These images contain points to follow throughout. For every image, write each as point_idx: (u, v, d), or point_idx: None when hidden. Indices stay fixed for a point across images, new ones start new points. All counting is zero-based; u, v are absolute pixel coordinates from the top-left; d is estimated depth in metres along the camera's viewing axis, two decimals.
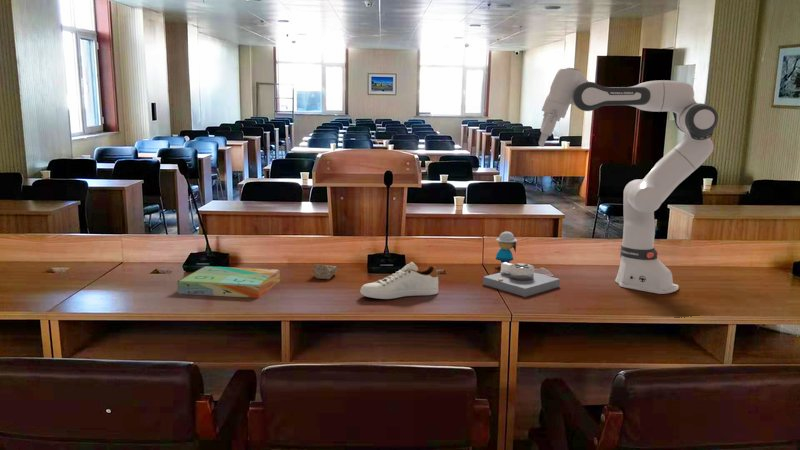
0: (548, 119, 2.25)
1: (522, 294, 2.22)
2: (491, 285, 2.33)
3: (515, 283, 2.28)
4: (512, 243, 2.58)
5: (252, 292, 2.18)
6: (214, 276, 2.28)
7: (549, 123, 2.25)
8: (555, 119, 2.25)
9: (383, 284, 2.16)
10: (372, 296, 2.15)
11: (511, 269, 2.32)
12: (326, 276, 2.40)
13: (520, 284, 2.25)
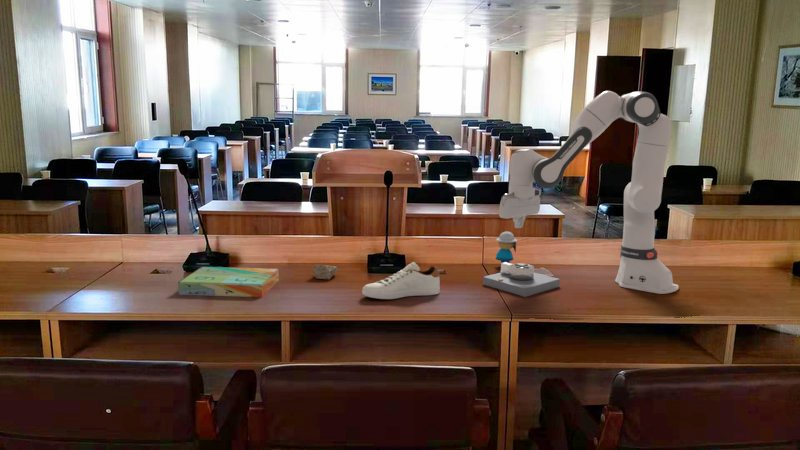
0: (500, 203, 2.33)
1: (522, 294, 2.22)
2: (491, 285, 2.33)
3: (515, 283, 2.28)
4: (512, 243, 2.58)
5: (255, 292, 2.19)
6: (214, 276, 2.27)
7: (502, 207, 2.33)
8: (506, 202, 2.32)
9: (385, 284, 2.16)
10: (374, 296, 2.15)
11: (511, 269, 2.32)
12: (326, 276, 2.40)
13: (520, 284, 2.25)
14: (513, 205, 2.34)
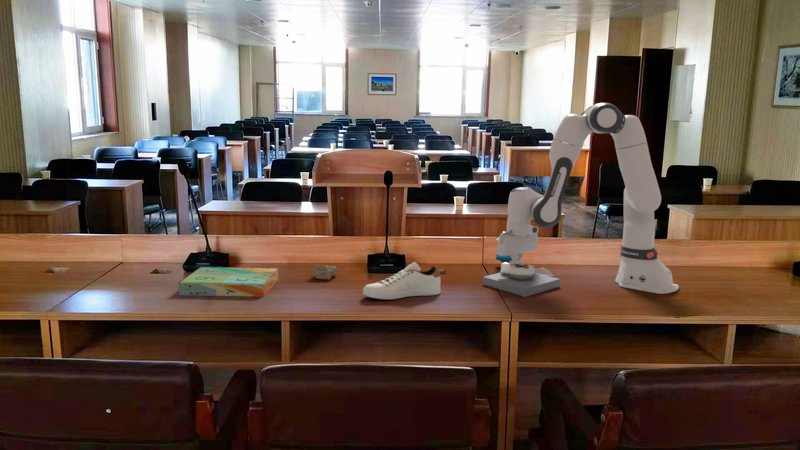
0: (498, 241, 2.36)
1: (522, 294, 2.22)
2: (491, 285, 2.33)
3: (515, 283, 2.28)
4: None
5: (256, 291, 2.19)
6: (215, 277, 2.27)
7: (500, 245, 2.35)
8: (504, 240, 2.34)
9: (386, 284, 2.16)
10: (375, 296, 2.14)
11: (511, 269, 2.32)
12: (326, 276, 2.40)
13: (520, 284, 2.25)
14: (510, 243, 2.37)
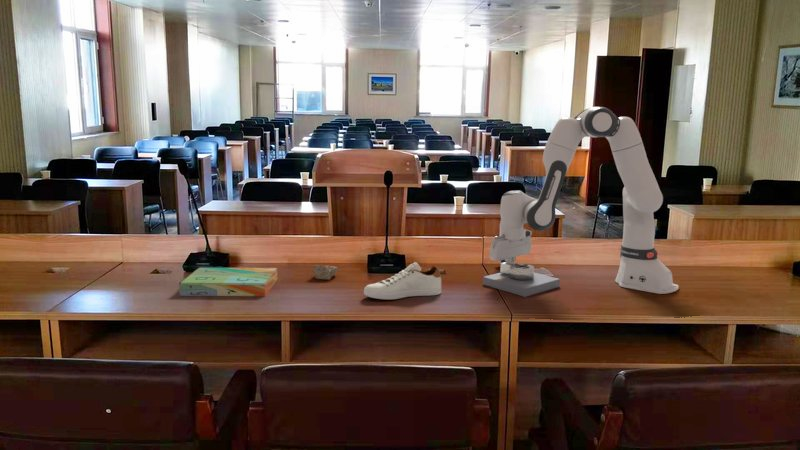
0: (491, 246, 2.34)
1: (522, 294, 2.22)
2: (491, 285, 2.33)
3: (515, 283, 2.28)
4: None
5: (258, 291, 2.20)
6: (215, 277, 2.27)
7: (492, 250, 2.33)
8: (496, 245, 2.32)
9: (387, 285, 2.16)
10: (376, 297, 2.14)
11: (511, 269, 2.32)
12: (326, 276, 2.40)
13: (520, 284, 2.25)
14: (503, 248, 2.34)
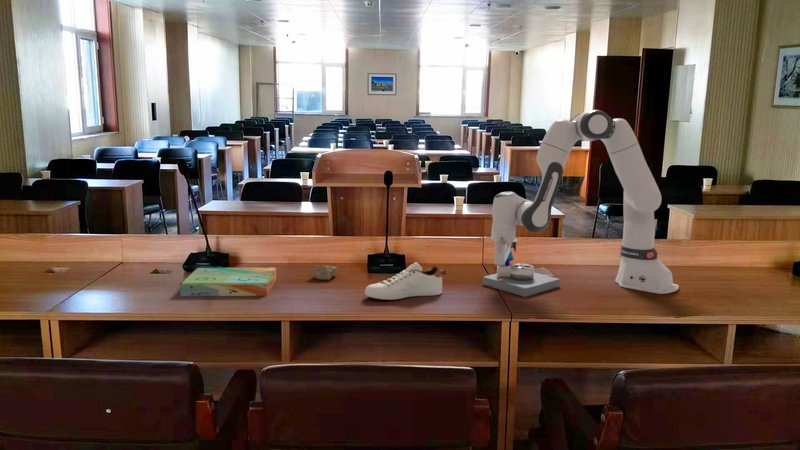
0: (496, 250, 2.27)
1: (522, 294, 2.22)
2: (491, 285, 2.33)
3: (515, 283, 2.28)
4: (512, 243, 2.58)
5: (259, 291, 2.20)
6: (215, 277, 2.27)
7: (498, 254, 2.26)
8: (503, 248, 2.26)
9: (388, 285, 2.15)
10: (377, 297, 2.14)
11: (519, 271, 2.30)
12: (326, 277, 2.39)
13: (520, 284, 2.25)
14: (505, 251, 2.30)
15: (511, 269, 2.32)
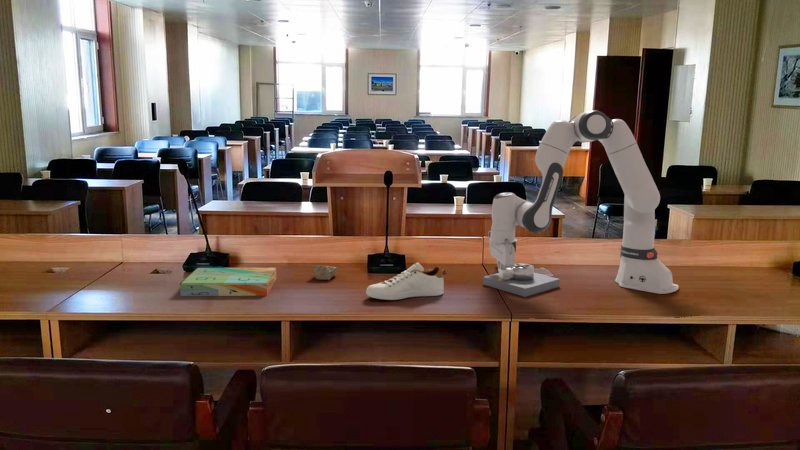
0: (507, 252, 2.24)
1: (522, 294, 2.22)
2: (491, 285, 2.33)
3: (515, 283, 2.28)
4: (512, 243, 2.58)
5: (259, 290, 2.20)
6: (215, 277, 2.27)
7: (510, 256, 2.24)
8: (513, 250, 2.25)
9: (389, 285, 2.15)
10: (378, 297, 2.14)
11: (525, 271, 2.29)
12: (326, 277, 2.39)
13: (520, 284, 2.25)
14: None
15: (515, 270, 2.30)
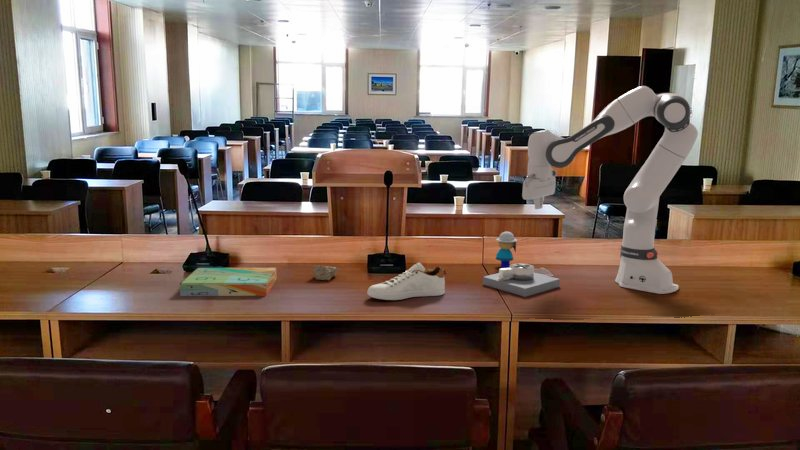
0: (524, 185, 2.35)
1: (522, 294, 2.22)
2: (491, 285, 2.33)
3: (515, 283, 2.28)
4: (512, 243, 2.58)
5: (259, 290, 2.20)
6: (215, 277, 2.27)
7: (525, 189, 2.34)
8: (529, 183, 2.33)
9: (391, 285, 2.15)
10: (380, 297, 2.14)
11: (525, 271, 2.29)
12: (326, 277, 2.39)
13: (520, 284, 2.25)
14: (535, 186, 2.36)
15: (515, 270, 2.30)
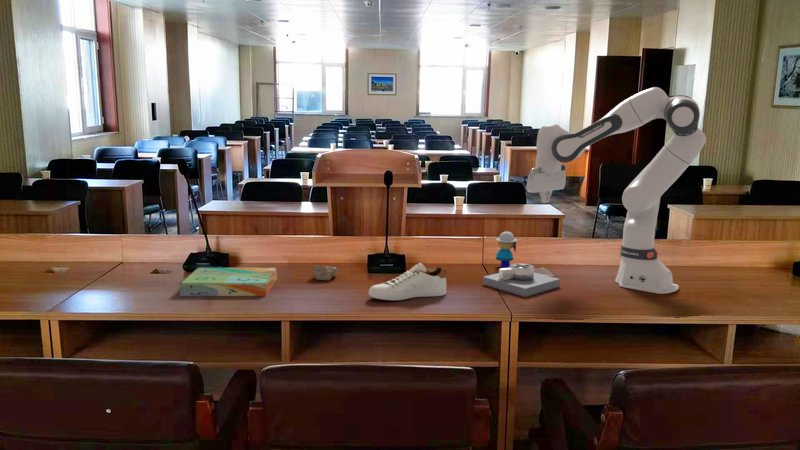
0: (528, 178, 2.38)
1: (522, 294, 2.22)
2: (491, 285, 2.33)
3: (515, 283, 2.28)
4: (512, 243, 2.58)
5: (259, 291, 2.20)
6: (215, 277, 2.27)
7: (529, 181, 2.38)
8: (533, 176, 2.37)
9: (392, 285, 2.15)
10: (381, 297, 2.13)
11: (525, 271, 2.29)
12: (326, 277, 2.39)
13: (520, 284, 2.25)
14: (540, 180, 2.39)
15: (515, 270, 2.30)
